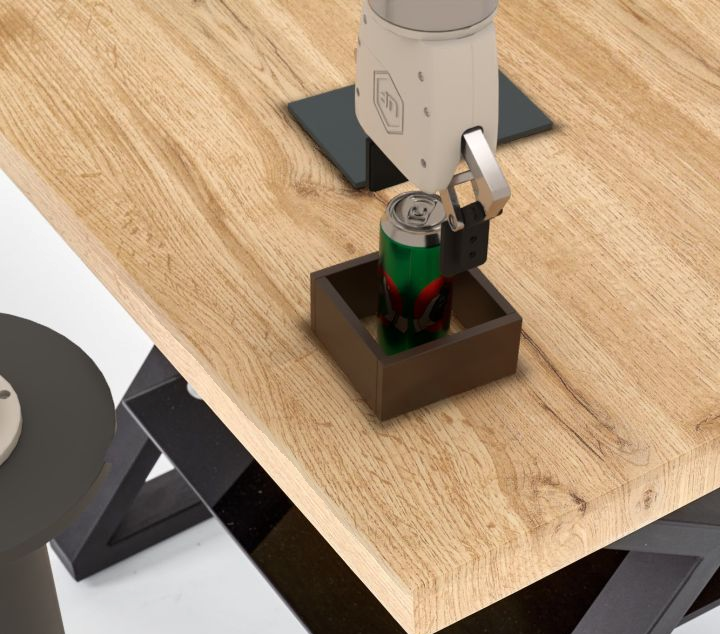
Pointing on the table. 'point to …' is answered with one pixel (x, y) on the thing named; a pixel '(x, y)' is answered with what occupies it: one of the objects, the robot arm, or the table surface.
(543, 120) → the mat
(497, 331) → the frame
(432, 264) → the soda can
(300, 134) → the table surface
